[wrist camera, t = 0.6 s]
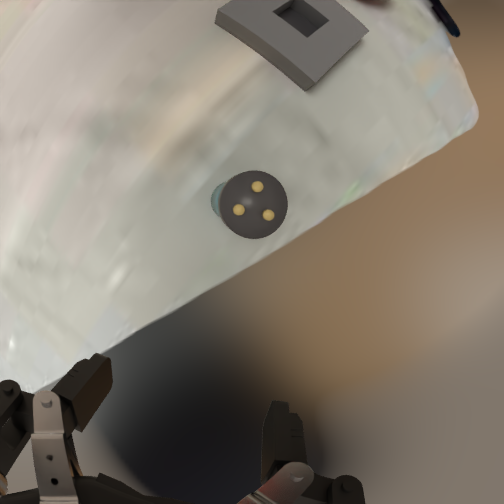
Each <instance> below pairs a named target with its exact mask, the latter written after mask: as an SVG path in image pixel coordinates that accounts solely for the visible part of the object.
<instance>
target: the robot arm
mask: <svg viewBox="0 0 504 504" xmlns="http://www.w3.org/2000/svg"><path fill="white" fill-rule="evenodd" d="M112 383H113V379H112V368H111V360H110V358H109V357H106V356H103V355H101V354H98V353H95V354H94V355H93V356H92V357H91V358H90V359H89V360H88V359H83V360H81V361H79V362H77V363H76V364H75V365H74V366H73V367H72V369H70V370H69V372H68V373H67V374H66V375H65V376H64V377H63V378H62V379H61V380H60V381H59V382H58V383H57V384H56V386H55V387H54V388H53V389H52V390H51V391H40V392H38V393H37V394H36V395H35V394H31V393H27V392H24V391H21V389H20V386H19V384H18V383H17V382H15V381H13V380H4V381H2V382H0V504H192V503H188V502H184V501H179V500H176V499H172V498H163V497H153V496H145V495H142V494H140V493H139V492H137V491H135V490H134V489H132V488H131V487H129V486H127V485H126V484H124V483H122V482H121V481H118V480H116V479H113V478H111V477H109V476H106V475H104V474H102V473H99V475H98V477H93V476H83V474H82V471H81V469H80V466H79V463H78V459H77V455H76V451H75V446H74V442H73V437H72V432H73V430H74V429H76V430H78V431H80V432H82V431H83V430H84V428H85V427H86V425H87V424H88V422H89V421H90V419H91V418H92V416H93V415H94V413H95V412H96V411H97V409H98V408H99V406H100V405H101V403H102V402H103V400H104V399H105V397H106V396H107V394H108V393H109V392H110V390H111V387H112ZM8 419H9V420H8ZM7 420H8V421H7ZM4 424H5V425H4ZM30 438H31V443H32V452H33V460H34V467H35V473H36V479H37V484H38V488H35V489H31V490H26V491H22V492H17V493H12V494H7V495H6V493H7V492H8V488H7V485H8V483H7V479H6V475H7V473H8V472H9V470H10V468H11V467H12V465H13V464H14V462H15V460H16V459H17V457H18V456H19V454H20V453H21V451H22V450H23V448H24V447H25V445H26V443H27V442H28V440H29V439H30ZM261 463H262V465H261V484H264V485H263V486H262V487H261V488H259V489H258V490H257V491H256V492H254V493H251V494H249V495H248V496H246V497H245V498H244V499H242V500H241V501H240V502H239V503H237V504H365V498H364V492H363V487H362V484H361V482H360V481H359V480H358V479H357V478H355V477H353V476H349V475H342V476H339V477H337V478H336V479H331V478H327V477H323V476H320V475H317V474H316V473H314V472H313V470H312V469H311V468H310V467H309V466H308V464H307V456H306V448H305V440H304V432H303V424H302V420H301V419H300V417H299V416H298V414H297V413H289V405H288V402H283V401H275V400H272V402H271V404H270V407H269V410H268V412H267V415H266V417H265V420H264V424H263V430H262V462H261Z"/></svg>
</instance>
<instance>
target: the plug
mask: <svg viewBox="0 0 504 504" xmlns="http://www.w3.org/2000/svg"><path fill="white" fill-rule="evenodd" d="M211 204H212V208H213V210H214V212H215V213H216V214H217V215H218V216H220V217H221V219H222V220H223V222H224V223H225V224H226V226H227V227H229V228H230V229H231V230H232V231H233V232H235V233H236V234H238V235H240V236H242V237H245V238H249V239H258V238H263V237H266V236H268V235H270V234H272V233H273V232H275V231H276V230H277V229H278V228H279V227H280V225H281V224H282V223H283V221H284V219H285V216H286V213H287V207H288V201H287V196H286V192H285V190H284V188H283V186H282V185H281V184H280V182H279V181H278V180H277V179H276V178H275V177H273V176H272V175H270V174H268V173H265V172H262V171H247V172H243V173H241V174H238V175H236V176H234V177H232V178H231V179H230V180H228V181H227V182H225V183H222V184H220V185H219V186H218V187H217V188H216V189H215V190H214V192H213V194H212V197H211Z"/></svg>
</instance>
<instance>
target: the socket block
mask: <svg viewBox="0 0 504 504" xmlns="http://www.w3.org/2000/svg"><path fill="white" fill-rule="evenodd" d="M215 24H217V25H218V26H220V27H221V28H223V29H225V30H226V31H228V32H229V33H231V34H232V35H234V36H235V37H236V38H238V39H239V40H241V41H242V42H244V43H245V44H246V45H248V46H249V47H251V48H252V49H253V50H255V51H256V52H257V53H259V54H260V55H261V56H263V57H264V58H265V59H267V60H268V61H269V62H270V63H272V64H273V65H274V66H275V67H277V68H278V69H279V70H280V71H282V72H283V73H284V74H285V75H286V76H288V77H289V78H290V79H291V80H292V81H294V82H295V83H296V84H297V85H298V86H299V87H300V88H302V89H303V90H304V91H306V90H307V89H308V88H309V87H311V86H312V85H313V84H315V83H316V82H317V81H318V80H319V79H320V78H321V77H322V76H323V75H324V74H325V73H326V72H327V71H328V70H329V69H330V68H331V67H332V66H333V65H334V64H335V63H336V62H337V61H338V60H339V59H340V58H341V57H342V56H343V55H344V54H345V53H346V52H347V51H348V50H349V49H350V48H351V47H353V46H354V45H355V44H356V43H357V42H358V41H359V40H360V39H361V38H362V37H363V36H364V35H365V34H367V33H368V32H369V30H368V29H367V28H366V27H365V26H364V25H363V24H362V23H361V22H360V21H359V20H358V19H357V18H355V17H354V16H353V15H352V14H351V13H350V12H349V11H347V10H346V9H345V8H344V7H343V6H341V5H340V4H339V3H338V2H336V1H335V0H232V1H230V2H228V3H227V4H225V5H224V6H222V7H221V8H220V9H218V11H217V15H216V20H215Z"/></svg>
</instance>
